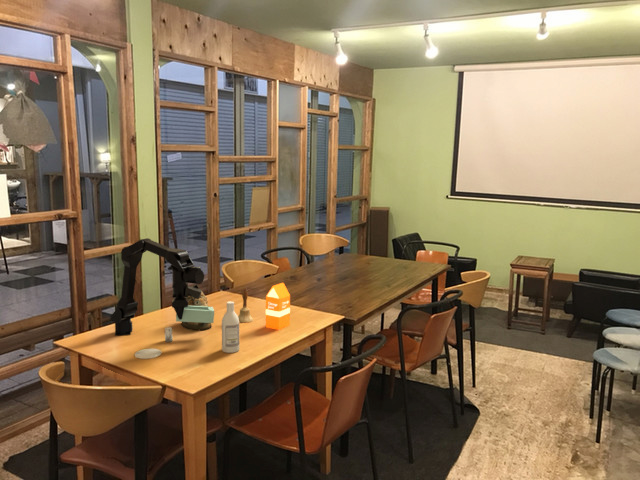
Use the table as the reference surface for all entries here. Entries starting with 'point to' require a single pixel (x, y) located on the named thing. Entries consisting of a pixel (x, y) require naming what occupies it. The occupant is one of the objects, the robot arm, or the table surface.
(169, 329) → the peg
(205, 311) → the c link
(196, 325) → the owl figurine
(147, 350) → the cream oval dome
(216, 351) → the table surface
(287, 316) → the orange juice
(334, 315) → the table surface
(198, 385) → the table surface
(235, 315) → the bath foam
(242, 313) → the hand bell
